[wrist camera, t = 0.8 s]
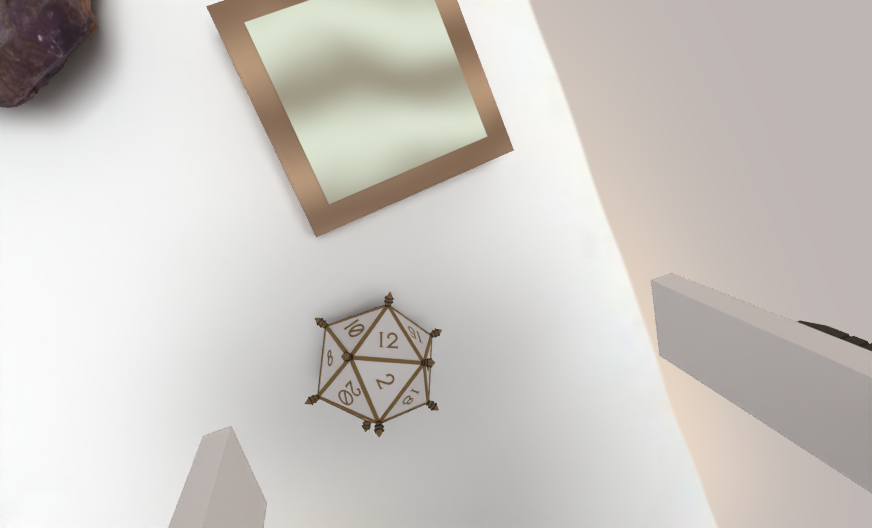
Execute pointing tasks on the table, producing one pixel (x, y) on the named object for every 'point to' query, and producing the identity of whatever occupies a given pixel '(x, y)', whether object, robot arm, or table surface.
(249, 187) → the table surface
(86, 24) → the rock
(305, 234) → the table surface
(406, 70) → the framed mirror
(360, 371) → the game die
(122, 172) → the table surface
